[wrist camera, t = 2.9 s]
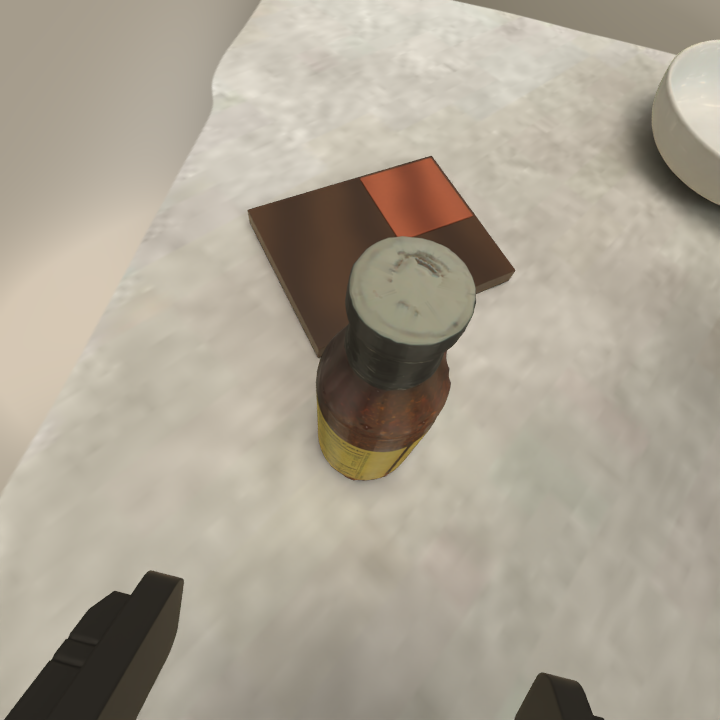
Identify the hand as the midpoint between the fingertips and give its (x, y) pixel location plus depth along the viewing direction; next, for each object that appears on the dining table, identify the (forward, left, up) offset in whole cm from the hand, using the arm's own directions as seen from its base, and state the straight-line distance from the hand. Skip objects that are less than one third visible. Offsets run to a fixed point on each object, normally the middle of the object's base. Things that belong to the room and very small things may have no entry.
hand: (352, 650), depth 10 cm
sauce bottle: (-6, -8, -20) cm, 22 cm away
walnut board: (-15, -22, -20) cm, 33 cm away
